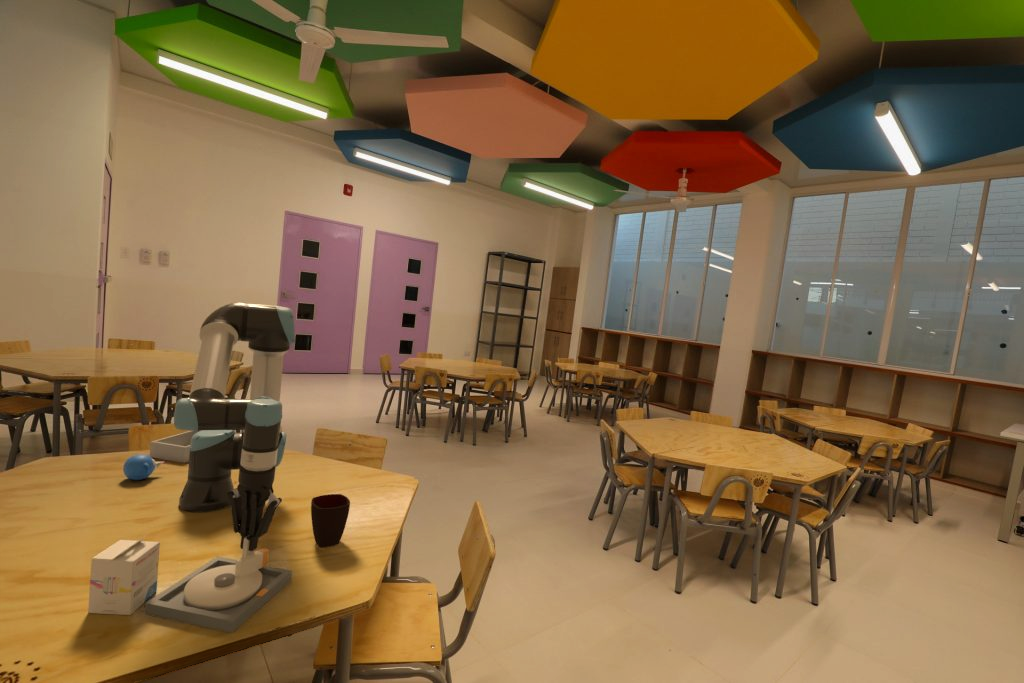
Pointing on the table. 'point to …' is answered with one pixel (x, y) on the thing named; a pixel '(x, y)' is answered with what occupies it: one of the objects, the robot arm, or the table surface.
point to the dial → (227, 583)
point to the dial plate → (226, 619)
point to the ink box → (123, 577)
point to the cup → (329, 518)
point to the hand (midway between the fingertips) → (247, 562)
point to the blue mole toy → (140, 466)
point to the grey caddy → (173, 447)
